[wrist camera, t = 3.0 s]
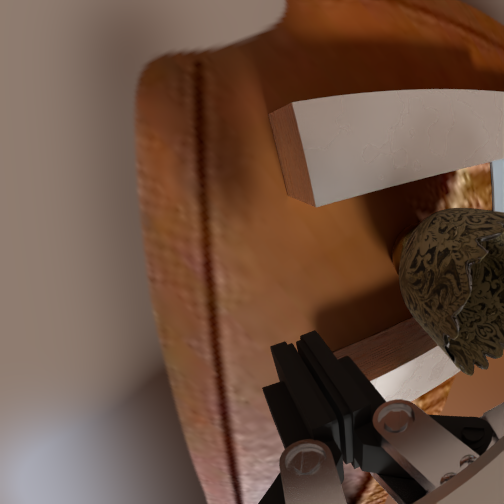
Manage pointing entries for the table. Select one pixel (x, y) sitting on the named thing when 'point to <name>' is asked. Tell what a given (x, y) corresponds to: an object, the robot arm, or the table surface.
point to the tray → (497, 184)
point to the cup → (456, 282)
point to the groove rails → (383, 176)
